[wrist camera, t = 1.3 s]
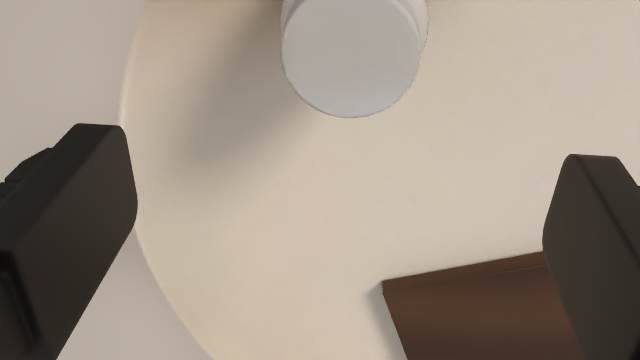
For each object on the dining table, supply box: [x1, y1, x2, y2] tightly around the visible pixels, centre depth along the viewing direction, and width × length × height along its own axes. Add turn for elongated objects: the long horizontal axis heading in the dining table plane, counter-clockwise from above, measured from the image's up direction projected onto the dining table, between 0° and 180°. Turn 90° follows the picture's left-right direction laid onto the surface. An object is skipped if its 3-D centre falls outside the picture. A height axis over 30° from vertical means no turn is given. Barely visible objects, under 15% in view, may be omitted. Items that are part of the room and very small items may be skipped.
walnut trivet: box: [383, 252, 583, 360], centre depth 33 cm, size 12×12×1 cm
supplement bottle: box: [280, 0, 429, 118], centre depth 19 cm, size 5×5×8 cm
